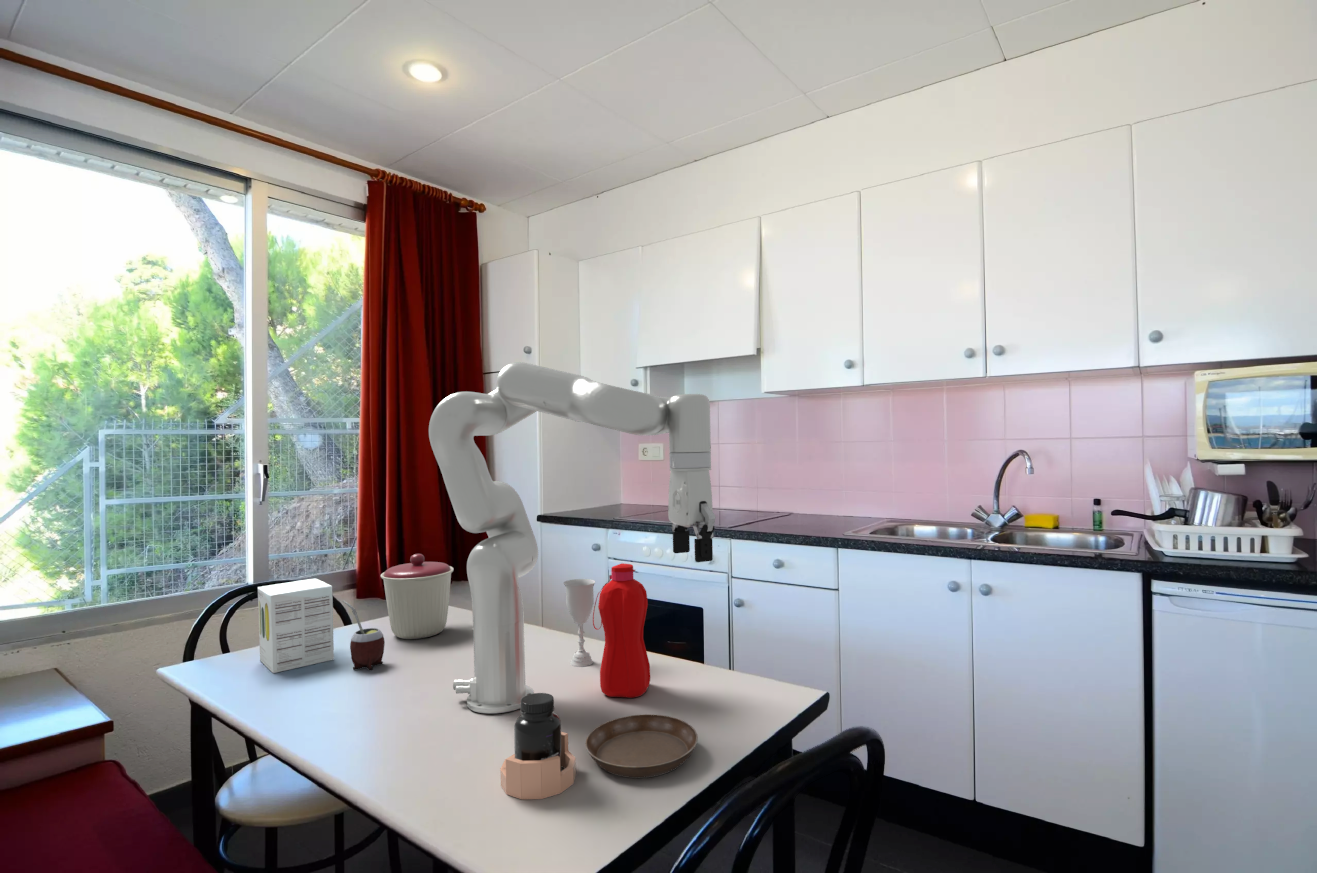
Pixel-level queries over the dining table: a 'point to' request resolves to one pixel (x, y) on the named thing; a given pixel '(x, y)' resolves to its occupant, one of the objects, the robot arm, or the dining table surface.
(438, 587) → the canister
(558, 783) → the holder cup
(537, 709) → the supplement bottle
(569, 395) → the robot arm
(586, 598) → the chalice
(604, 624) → the water bottle
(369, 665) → the mate gourd
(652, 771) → the plant saucer
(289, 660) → the supplement box
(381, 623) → the dining table surface
